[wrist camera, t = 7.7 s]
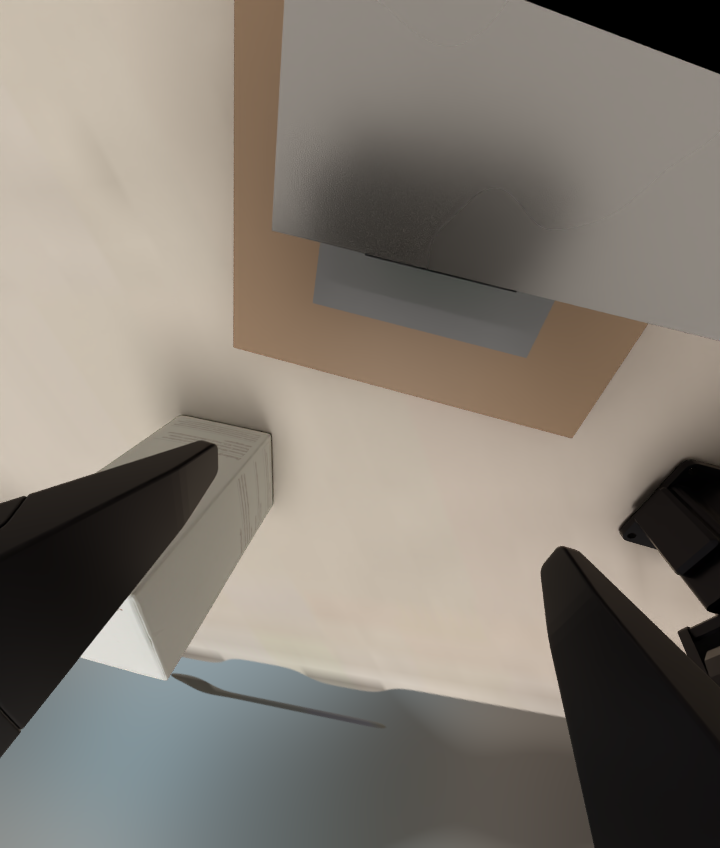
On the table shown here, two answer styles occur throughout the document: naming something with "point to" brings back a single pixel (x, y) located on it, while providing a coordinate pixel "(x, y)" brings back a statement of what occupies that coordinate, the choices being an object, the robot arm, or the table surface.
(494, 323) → the tan base plate
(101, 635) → the supplement box
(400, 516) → the table surface
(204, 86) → the table surface
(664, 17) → the block
